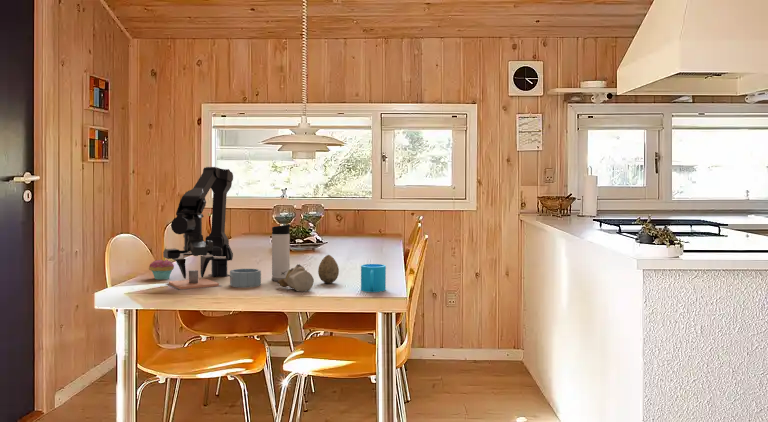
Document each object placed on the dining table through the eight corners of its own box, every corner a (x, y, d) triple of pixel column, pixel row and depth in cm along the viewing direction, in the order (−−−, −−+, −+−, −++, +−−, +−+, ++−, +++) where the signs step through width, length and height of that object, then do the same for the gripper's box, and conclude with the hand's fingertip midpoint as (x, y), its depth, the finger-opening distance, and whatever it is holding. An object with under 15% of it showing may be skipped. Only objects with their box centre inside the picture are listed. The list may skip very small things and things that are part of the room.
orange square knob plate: (168, 283, 241) (168, 269, 241) (205, 280, 248) (205, 267, 248) (180, 289, 230) (180, 274, 230) (218, 286, 237) (218, 271, 237)
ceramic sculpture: (290, 266, 225) (274, 263, 238) (290, 293, 225) (275, 289, 238) (321, 265, 230) (304, 262, 243) (321, 291, 230) (304, 287, 243)
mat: (164, 284, 241) (164, 283, 241) (207, 281, 250) (207, 280, 250) (178, 291, 229) (178, 290, 229) (222, 287, 237) (222, 286, 237)
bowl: (226, 285, 241) (226, 269, 241) (253, 282, 247) (253, 267, 247) (237, 289, 233) (237, 273, 233) (265, 286, 238) (265, 271, 238)
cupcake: (179, 278, 256) (178, 245, 255) (164, 281, 248) (164, 247, 247) (159, 277, 259) (158, 244, 258) (143, 280, 251) (143, 246, 250)
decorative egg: (320, 285, 243) (320, 256, 242) (316, 282, 250) (316, 253, 249) (340, 284, 245) (340, 255, 244) (336, 281, 252) (336, 253, 251)
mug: (362, 287, 239) (362, 263, 238) (386, 288, 238) (386, 264, 238) (358, 294, 227) (358, 268, 226) (384, 294, 226) (384, 269, 226)
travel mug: (287, 281, 250) (287, 225, 249) (269, 281, 251) (269, 224, 250) (292, 279, 256) (292, 223, 255) (275, 278, 257) (275, 223, 256)
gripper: (172, 235, 226) (173, 283, 227) (228, 232, 237) (228, 278, 237) (162, 232, 236) (163, 278, 237) (216, 230, 246) (216, 274, 247)
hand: (193, 277), depth 239 cm, fingers open, 6 cm apart
